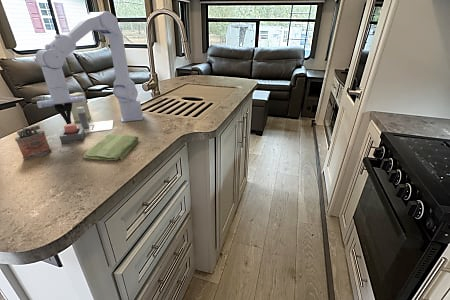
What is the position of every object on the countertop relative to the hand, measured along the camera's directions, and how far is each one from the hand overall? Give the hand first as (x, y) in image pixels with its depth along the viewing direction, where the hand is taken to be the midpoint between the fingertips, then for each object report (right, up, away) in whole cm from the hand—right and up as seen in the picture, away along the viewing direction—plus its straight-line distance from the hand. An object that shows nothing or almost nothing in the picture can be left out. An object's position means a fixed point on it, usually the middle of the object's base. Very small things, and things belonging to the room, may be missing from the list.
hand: (69, 123), depth 89 cm
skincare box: (-9, +4, +23) cm, 25 cm away
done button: (0, -3, +2) cm, 3 cm away
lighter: (-4, -12, -9) cm, 16 cm away
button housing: (0, -6, +3) cm, 6 cm away
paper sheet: (+1, 0, +14) cm, 14 cm away
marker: (-1, -1, +12) cm, 12 cm away
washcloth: (+19, -10, -5) cm, 23 cm away
